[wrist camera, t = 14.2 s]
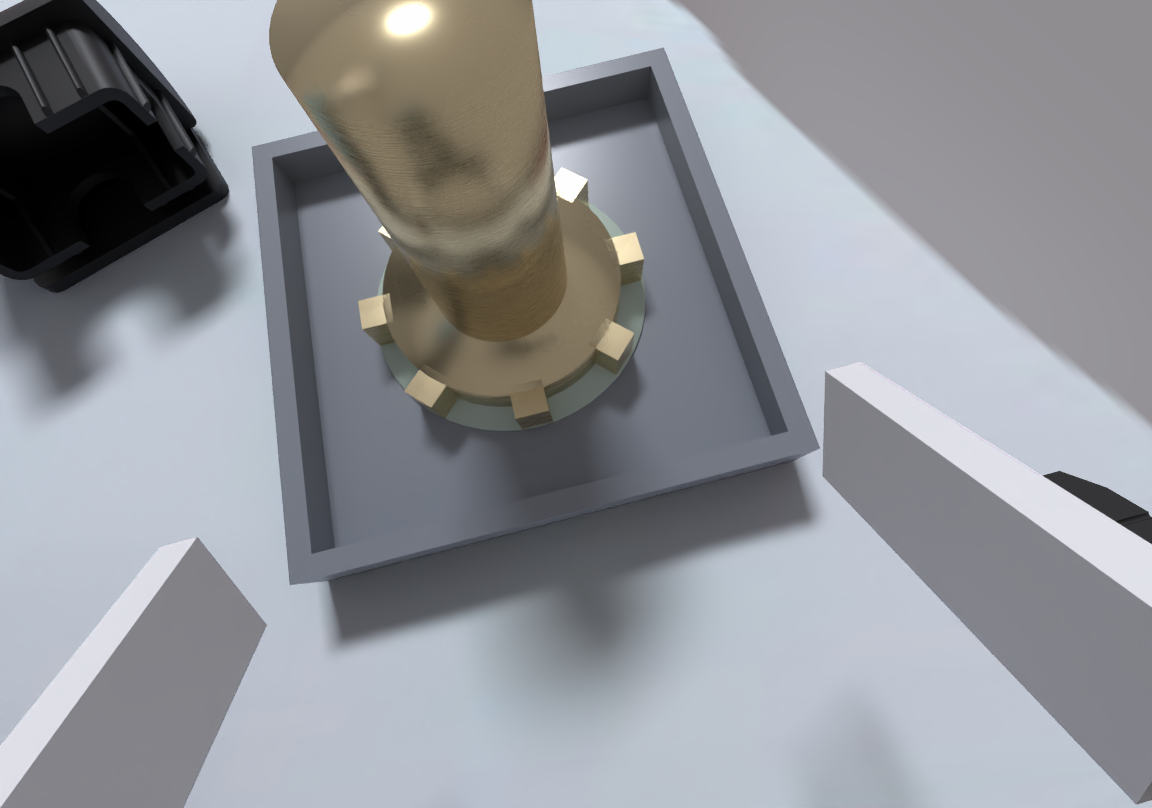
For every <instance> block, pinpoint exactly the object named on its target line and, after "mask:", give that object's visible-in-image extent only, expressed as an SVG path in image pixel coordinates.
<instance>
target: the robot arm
mask: <svg viewBox="0 0 1152 808" xmlns="http://www.w3.org/2000/svg"><path fill="white" fill-rule="evenodd" d="M823 477H824V478H825V479H826V480H827V481H828V482H829V483H830V484H831V485H832V486H833V487H834V488H835V489H836V491H837V492H838V493H839V494H840V495H841V496H842V497H843V498H844V499H845V500H846V501H847V502H848V503H849V504H850V505H851V506H852V507H853V508H854V509H855V510H856V511H857V513H858V514H859V515H860V516H861V517H862V518H863V519H864V520H865V521H866V522H867V523H868V524H869V525H870V526H871V527H872V528H873V529H874V530H875V531H876V532H877V533H878V535H879V536H880V537H881V538H882V539H883V540H884V541H885V542H886V543H887V544H888V545H889V546H890V547H891V548H892V549H893V550H894V551H895V552H896V553H897V554H898V555H899V557H900V558H901V559H902V560H903V561H904V562H905V563H906V564H907V565H908V566H909V567H910V568H911V569H912V570H913V571H914V572H915V573H916V574H917V575H918V576H919V577H920V579H921V580H922V581H923V582H924V583H925V584H926V585H927V586H928V587H929V588H930V589H931V590H932V591H933V592H934V593H935V594H936V595H937V596H938V597H939V598H940V599H941V601H942V602H943V603H944V604H945V605H946V606H947V607H948V608H949V609H950V610H951V611H952V612H953V613H954V614H955V615H956V616H957V617H958V618H959V619H960V620H961V621H962V623H963V624H964V625H965V626H966V627H967V628H968V629H969V630H970V631H971V632H972V633H973V634H974V635H975V636H976V637H977V638H978V639H979V640H980V641H981V642H982V643H983V645H984V646H985V647H986V648H987V649H988V650H989V651H990V652H991V653H992V654H993V655H994V656H995V657H996V658H997V659H998V660H999V661H1000V662H1001V663H1002V664H1003V665H1004V667H1005V668H1006V669H1007V670H1008V671H1009V672H1010V673H1011V674H1012V675H1013V676H1014V677H1015V678H1016V679H1017V680H1018V681H1019V682H1020V683H1021V684H1022V685H1023V686H1024V687H1025V688H1026V690H1027V691H1028V692H1029V693H1030V694H1031V695H1032V696H1033V697H1034V698H1035V699H1036V700H1037V701H1038V702H1039V703H1040V704H1041V705H1042V706H1043V707H1044V708H1045V709H1046V710H1047V712H1048V713H1049V714H1050V715H1051V716H1052V717H1053V718H1054V719H1055V720H1056V721H1057V722H1058V723H1059V724H1060V725H1061V726H1062V727H1063V728H1064V729H1065V730H1066V731H1067V732H1068V734H1069V735H1070V736H1071V737H1072V738H1073V739H1074V740H1075V741H1076V742H1077V743H1078V744H1079V745H1080V746H1081V747H1082V748H1083V749H1084V750H1085V751H1086V752H1087V753H1088V754H1089V756H1090V757H1091V758H1092V759H1093V760H1094V761H1095V762H1096V763H1097V764H1098V765H1099V766H1100V767H1101V768H1102V769H1103V770H1104V771H1105V772H1106V773H1107V774H1108V775H1109V776H1110V778H1111V779H1112V780H1113V781H1114V782H1115V783H1116V784H1117V785H1118V786H1119V787H1120V788H1121V789H1122V790H1123V791H1124V792H1125V793H1126V794H1127V795H1128V796H1129V797H1130V798H1131V800H1132V801H1133V802H1134V803H1135V804H1139V803H1143V802H1146V801H1150V800H1152V517H1151V516H1150V515H1149V512H1148V511H1146V510H1144V509H1142V508H1141V507H1139V506H1137V505H1136V504H1134V503H1132V502H1130V501H1129V500H1127V499H1125V498H1124V497H1122V496H1120V495H1118V494H1117V493H1115V492H1113V491H1112V490H1110V489H1108V488H1106V487H1103V486H1100V485H1098V484H1095V483H1092V482H1089V481H1086V480H1084V479H1081V478H1078V477H1075V476H1072V475H1069V474H1067V473H1064V472H1061V471H1058V472H1054V473H1050V474H1047V475H1043V476H1042V475H1040V474H1039V473H1037V472H1036V471H1034V470H1032V469H1031V468H1029V467H1028V466H1026V465H1025V464H1023V463H1021V462H1020V461H1018V460H1017V459H1015V458H1013V457H1012V456H1010V455H1009V454H1007V453H1005V452H1004V451H1002V450H1001V449H999V448H997V447H996V446H994V445H993V444H991V443H989V442H988V441H986V440H985V439H983V438H982V437H980V436H978V435H977V434H975V433H974V432H972V431H970V430H969V429H967V428H966V427H964V426H962V425H961V424H959V423H958V422H956V421H954V420H953V419H951V418H950V417H948V416H946V415H945V414H943V413H942V412H940V411H939V410H937V409H935V408H934V407H932V406H931V405H929V404H927V403H926V402H924V401H923V400H921V399H919V398H918V397H916V396H915V395H913V394H911V393H910V392H908V391H907V390H905V389H903V388H902V387H900V386H899V385H897V384H896V383H894V382H892V381H891V380H889V379H888V378H886V377H884V376H883V375H881V374H880V373H878V372H876V371H875V370H873V369H872V368H870V367H868V366H867V365H865V364H864V363H862V362H858V363H855V364H851V365H847V366H843V367H839V368H836V369H832V370H828V371H825V403H824V442H823ZM266 626H267V625H266V623H265V622H264V621H263V620H262V618H261V617H260V616H259V614H258V613H257V612H256V611H255V609H254V608H253V607H252V606H251V604H250V603H249V602H248V600H247V599H246V598H245V597H244V595H243V594H242V593H241V592H240V590H239V589H238V588H237V586H236V585H235V584H234V583H233V581H232V580H231V579H230V578H229V576H228V575H227V574H226V572H225V571H224V570H223V569H222V567H221V566H220V565H219V564H218V562H217V561H216V560H215V558H214V557H213V556H212V555H211V553H210V552H209V551H208V550H207V548H206V547H205V546H204V545H203V543H202V542H201V541H200V539H199V538H198V537H195V538H191V539H187V540H184V541H180V542H176V543H172V544H168V545H165V546H161V547H159V548H158V550H157V551H156V552H155V553H154V555H153V556H152V557H151V558H150V560H149V561H148V562H147V563H146V565H145V566H144V567H143V568H142V570H141V571H140V572H139V573H138V575H137V576H136V577H135V578H134V580H133V581H132V582H131V583H130V585H129V586H128V587H127V588H126V590H125V591H124V592H123V593H122V595H121V596H120V597H119V598H118V600H117V601H116V602H115V603H114V605H113V606H112V607H111V608H110V610H109V611H108V612H107V613H106V615H105V616H104V617H103V618H102V620H101V621H100V622H99V623H98V624H97V626H96V627H95V628H94V629H93V631H92V632H91V633H90V634H89V636H88V637H87V638H86V639H85V641H84V642H83V643H82V644H81V646H80V647H79V648H78V649H77V651H76V652H75V653H74V654H73V656H72V657H71V658H70V659H69V661H68V662H67V663H66V664H65V666H64V667H63V668H62V669H61V671H60V672H59V673H58V674H57V676H56V677H55V678H54V679H53V681H52V682H51V683H50V684H49V686H48V687H47V688H46V689H45V691H44V692H43V693H42V694H41V696H40V697H39V698H38V699H37V701H36V702H35V703H34V704H33V706H32V707H31V708H30V709H29V711H28V712H27V713H26V714H25V716H24V717H23V718H22V719H21V721H20V722H19V723H18V724H17V726H16V727H15V728H14V729H13V731H12V732H11V733H10V734H9V736H8V737H7V738H6V739H5V741H4V742H3V743H2V744H1V746H0V808H183V807H184V805H185V803H186V801H187V798H188V796H189V794H190V792H191V790H192V788H193V785H194V783H195V781H196V779H197V777H198V774H199V772H200V770H201V768H202V766H203V764H204V761H205V759H206V757H207V755H208V753H209V750H210V748H211V746H212V744H213V742H214V739H215V737H216V735H217V733H218V731H219V729H220V726H221V724H222V722H223V720H224V718H225V715H226V713H227V711H228V709H229V707H230V705H231V702H232V700H233V698H234V696H235V694H236V691H237V689H238V687H239V685H240V683H241V680H242V678H243V676H244V674H245V672H246V670H247V667H248V665H249V663H250V661H251V659H252V656H253V654H254V652H255V650H256V648H257V646H258V643H259V641H260V639H261V637H262V635H263V632H264V630H265V628H266Z"/></svg>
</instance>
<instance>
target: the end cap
mask: <svg viewBox="0 0 1152 808" xmlns="http://www.w3.org/2000/svg"><path fill="white" fill-rule="evenodd" d="M195 125H196V119H195V118H194V116H193V115H192V113H191V112H190V110H189V109H188V107H187V106H186V104H185V103H184V102H183V100H182V99H181V98H180V96H179V95H178V94H177V92H176V91H175V89H174V88H173V87H172V86H171V84H170V83H169V82H168V80H167V79H166V78H165V77H164V75H163V74H162V73H161V72H160V70H159V69H158V68H157V67H156V66H155V64H154V63H153V62H152V61H151V60H150V58H149V57H148V56H147V55H146V54H145V52H144V51H143V50H142V49H141V48H140V47H139V45H138V44H137V43H136V42H135V41H134V40H133V39H132V37H131V36H130V35H129V34H128V33H127V32H126V31H125V30H124V29H123V28H122V26H121V25H120V24H119V23H118V22H117V21H116V20H115V19H114V18H113V17H112V16H111V15H110V14H109V13H108V12H107V11H106V10H105V9H104V8H103V7H102V6H101V5H100V4H99V3H98V2H97V1H96V0H24V1H22V2H20V3H18V4H16V5H14V6H12V7H10V8H8V9H6V10H4V11H2V12H0V274H2V275H4V276H6V277H9V278H12V279H18V280H27V279H32V278H34V280H35V282H36V283H37V284H38V285H39V286H40V287H42V288H44V289H47V290H49V291H51V292H57V293H58V292H61V291H64V290H66V289H68V288H69V287H71V286H73V285H75V284H76V283H78V282H80V281H82V280H83V279H85V278H87V277H88V276H90V275H92V274H94V273H95V272H97V271H99V270H101V269H102V268H104V267H106V266H108V265H109V264H111V263H113V262H114V261H116V260H118V259H120V258H121V257H123V256H125V255H127V254H128V253H130V252H132V251H134V250H135V249H137V248H139V247H140V246H142V245H144V244H146V243H147V242H149V241H151V240H153V239H154V238H156V237H158V236H160V235H161V234H163V233H165V232H167V231H168V230H170V229H172V228H173V227H175V226H177V225H179V224H180V223H182V222H184V221H186V220H187V219H189V218H191V217H193V216H194V215H196V214H198V213H199V212H201V211H203V210H205V209H206V208H208V207H210V206H212V205H213V204H215V203H217V202H219V201H220V200H222V199H223V198H224V197H225V196H226V195H227V193H228V190H229V189H228V185H227V183H226V181H225V180H224V178H223V176H222V175H221V173H220V171H219V170H218V168H217V166H216V165H215V163H214V161H213V160H212V158H211V156H210V155H209V153H208V151H207V150H206V148H205V146H204V145H203V143H202V141H201V140H200V138H199V137H198V135H197V134H196V132H195V131H194V130H193V128H192V127H194V126H195Z"/></svg>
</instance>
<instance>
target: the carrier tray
mask: <svg viewBox="0 0 1152 808" xmlns="http://www.w3.org/2000/svg"><path fill="white" fill-rule="evenodd" d="M542 82H543V90H544V98H545V106H546V114H547V121H548V129H549V137H550V145H551V153H552V160H553V168H554V176H555V177H556V175H557V174H558V172H559V171H560V169H561V168H563V169H566V170H568V171H570V172H572V173H574V174H576V175H578V176H580V177H583V178H585V179H587V180H588V201H589V206H588V208H589V209H590V210H591V211H592V212H593V213H594V214H595V215H596V216H597V217H598V218H599V219H600V221H601V222H602V223H603V225H604V226H605V228H606V229H607V231H608V233H609V235H610V236H611V238H614V237H618V236H622V235H626V234H630V233H634V232H636V235H637V238H638V241H639V245H640V248H641V251H642V254H643V257H644V264H643V271H642V278H641V281H637V282H633V283H629V284H625V285H621V287H620V301H619V314H618V318H617V323H616V324H618V325H620V326H622V327H624V328H626V329H628V330H630V331H631V332H633V333H635V334H634V341H633V347H632V351H631V352H630V354H629V356H628V357H627V359H626V361H625V362H624V364H623V366H622V367H621V369H620V371H619V372H618V374H617V375H616V374H614V373H612V372H610V371H608V370H607V369H605V368H603V367H601V366H599V365H597V364H595V365H594V366H593V367H592V368H591V369H590V370H589V371H588V372H587V373H586V374H585V375H584V376H583V377H582V378H581V379H579V380H578V381H577V382H576V383H575V384H573V385H571V386H570V387H568V388H567V389H565V390H564V391H562V392H560V393H558V394H556V395H554V396H551V397H549V398H548V402H549V406H550V410H551V414H552V418H553V422H549V423H545V424H541V425H538V426H534V427H530V428H526V429H522V428H521V427H520V425H519V424H518V422H517V421H516V419H515V415H514V411H513V406H510V407H495V406H485V405H480V404H475V403H471V402H468V401H465V400H462V399H459V398H458V400H457V401H456V403H455V404H454V406H453V407H452V409H451V410H450V412H449V413H448V415H447V416H446V418H445V419H444V418H443V417H441V416H439V415H438V414H436V413H434V412H433V411H431V410H429V409H428V408H426V407H424V406H423V405H421V404H419V403H418V402H417V401H416V400H414V399H413V398H412V397H411V396H409V395H408V394H407V393H406V392H404V391H405V389H406V388H407V386H408V385H409V384H410V382H411V381H412V379H413V378H414V377H415V375H416V374H417V372H418V371H419V370H418V369H417V368H416V367H415V366H414V365H413V364H412V363H411V362H410V361H409V360H408V359H407V357H406V356H405V355H404V354H403V352H402V351H401V350H400V349H399V347H398V345H397V344H396V342H393V343H389V344H385V345H381V346H380V345H379V344H378V343H377V342H375V341H374V340H373V339H372V338H371V337H370V336H369V335H368V334H367V333H366V332H364V331H363V330H362V325H361V318H360V311H359V304H358V301H360V300H364V299H368V298H372V297H376V296H380V295H382V294H383V280H384V275H385V270H386V266H387V263H388V260H389V257H390V255H391V252H392V250H391V249H390V248H389V246H388V245H387V243H386V242H385V241H384V239H383V238H382V236H381V235H380V233H379V232H378V231H379V229H380V228H381V227H382V226H383V225H382V224H381V222H380V221H379V220H378V218H377V217H376V215H375V214H374V212H373V211H372V209H371V208H370V206H369V205H368V203H367V202H366V200H365V199H364V197H363V196H362V195H361V193H360V192H359V190H358V189H357V187H356V186H355V184H354V183H353V181H352V180H351V178H350V177H349V175H348V174H347V172H346V171H345V170H344V168H343V167H342V165H341V164H340V162H339V161H338V159H337V158H336V156H335V155H334V153H333V152H332V150H331V149H330V147H329V146H328V145H327V143H326V142H325V140H324V139H323V137H322V136H321V134H320V133H319V131H316V132H312V133H307V134H303V135H299V136H295V137H291V138H287V139H282V140H278V141H274V142H270V143H266V144H262V145H258V146H253V147H252V155H253V166H254V178H255V189H256V201H257V212H258V224H259V235H260V247H261V258H262V270H263V281H264V293H265V304H266V316H267V327H268V339H269V350H270V362H271V373H272V385H273V396H274V408H275V419H276V431H277V443H278V454H279V466H280V477H281V489H282V500H283V512H284V523H285V535H286V546H287V558H288V569H289V581H290V585H295V584H303V583H312V582H321V581H328V580H332V579H336V578H340V577H344V576H348V575H352V574H356V573H359V572H363V571H367V570H371V569H375V568H379V567H383V566H386V565H390V564H394V563H398V562H402V561H406V560H410V559H414V558H417V557H421V556H425V555H429V554H433V553H437V552H441V551H445V550H448V549H452V548H456V547H460V546H464V545H468V544H472V543H475V542H479V541H483V540H487V539H491V538H495V537H499V536H503V535H506V534H510V533H514V532H518V531H522V530H526V529H530V528H534V527H537V526H541V525H545V524H549V523H553V522H557V521H561V520H564V519H568V518H572V517H576V516H580V515H584V514H588V513H592V512H595V511H599V510H603V509H607V508H611V507H615V506H619V505H623V504H626V503H630V502H634V501H638V500H642V499H646V498H650V497H653V496H657V495H661V494H665V493H669V492H673V491H677V490H681V489H684V488H688V487H692V486H696V485H700V484H704V483H708V482H712V481H715V480H719V479H723V478H727V477H731V476H735V475H739V474H742V473H746V472H750V471H754V470H758V469H762V468H766V467H770V466H773V465H777V464H781V463H785V462H789V461H793V460H796V459H798V458H800V457H802V456H804V455H806V454H808V453H811V452H813V451H815V450H817V449H819V448H820V447H819V444H818V442H817V439H816V437H815V434H814V432H813V429H812V427H811V424H810V421H809V419H808V416H807V414H806V411H805V409H804V406H803V403H802V401H801V398H800V396H799V393H798V391H797V388H796V385H795V383H794V380H793V378H792V375H791V373H790V370H789V368H788V365H787V362H786V360H785V357H784V355H783V352H782V350H781V347H780V344H779V342H778V339H777V337H776V334H775V332H774V329H773V327H772V324H771V321H770V319H769V316H768V314H767V311H766V309H765V306H764V303H763V301H762V298H761V296H760V293H759V291H758V288H757V285H756V283H755V280H754V278H753V275H752V273H751V270H750V268H749V265H748V262H747V260H746V257H745V255H744V252H743V250H742V247H741V244H740V242H739V239H738V237H737V234H736V232H735V229H734V227H733V224H732V221H731V219H730V216H729V214H728V211H727V209H726V206H725V203H724V201H723V198H722V196H721V193H720V191H719V188H718V185H717V183H716V180H715V178H714V175H713V173H712V170H711V168H710V165H709V162H708V160H707V157H706V155H705V152H704V150H703V147H702V144H701V142H700V139H699V137H698V134H697V132H696V129H695V127H694V124H693V121H692V119H691V116H690V114H689V111H688V109H687V106H686V103H685V101H684V98H683V96H682V93H681V91H680V88H679V86H678V83H677V80H676V78H675V75H674V73H673V70H672V68H671V65H670V62H669V60H668V57H667V55H666V52H665V50H664V48H660V49H656V50H652V51H648V52H644V53H640V54H635V55H631V56H627V57H623V58H619V59H615V60H611V61H606V62H602V63H598V64H594V65H590V66H586V67H581V68H577V69H573V70H569V71H565V72H561V73H557V74H552V75H548V76H544V77H542Z"/></svg>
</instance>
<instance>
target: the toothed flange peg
mask: <svg viewBox="0 0 1152 808" xmlns="http://www.w3.org/2000/svg"><path fill="white" fill-rule="evenodd" d="M269 44H270V49H271V54H272V58H273V60H274V63H275V66H276V68H277V70H278V72H279V73H280V75H281V76H282V78H283V80H284V81H285V83H286V84H287V86H288V87H289V89H290V90H291V92H292V93H293V94H294V96H295V97H296V99H297V100H298V102H299V103H300V105H301V106H302V108H303V109H304V111H305V112H306V114H307V115H308V117H309V118H310V120H311V121H312V122H313V124H314V125H315V127H316V128H317V130H318V131H319V133H320V134H321V136H322V137H323V139H324V140H325V142H326V143H327V145H328V146H329V147H330V149H331V150H332V152H333V153H334V155H335V156H336V158H337V159H338V161H339V162H340V164H341V165H342V167H343V168H344V170H345V171H346V172H347V174H348V175H349V177H350V178H351V180H352V181H353V183H354V184H355V186H356V187H357V189H358V190H359V192H360V193H361V195H362V196H363V197H364V199H365V200H366V202H367V203H368V205H369V206H370V208H371V209H372V211H373V212H374V214H375V215H376V217H377V218H378V220H379V221H380V222H381V224H382V225H383V226H382V227H381V228H380V229H379V231H378V232H379V233H380V235H381V236H382V238H383V239H384V241H385V242H386V243H387V245H388V246H389V248H390V249H391V250H392V252H391V255H390V257H389V260H388V263H387V266H386V270H385V275H384V280H383V294H382V295H380V296H376V297H372V298H368V299H364V300H360V301H358V304H359V311H360V318H361V325H362V330H363V331H364V332H366V333H367V334H368V335H369V336H370V337H371V338H372V339H373V340H374V341H375V342H377V343H378V344H379V345H380V346H381V345H385V344H389V343H393V342H396V344H397V345H398V347H399V349H400V350H401V351H402V352H403V354H404V355H405V356H406V357H407V359H408V360H409V361H410V362H411V363H412V364H413V365H414V366H415V367H416V368H417V369H418V370H419V371H418V372H417V374H416V375H415V377H414V378H413V379H412V381H411V382H410V384H409V385H408V386H407V388H406V389H405V391H404V392H406V393H407V394H408V395H409V396H411V397H412V398H413V399H414V400H416V401H417V402H418V403H419V404H421V405H423V406H424V407H426V408H428V409H429V410H431V411H433V412H434V413H436V414H438V415H439V416H441V417H443V418H444V419H445V418H446V416H447V415H448V413H449V412H450V410H451V409H452V407H453V406H454V404H455V403H456V401H457V400H458V398H459V399H462V400H465V401H468V402H471V403H475V404H480V405H485V406H495V407H510V406H513V411H514V415H515V419H516V421H517V422H518V424H519V425H520V427H521V428H522V429H526V428H530V427H534V426H538V425H541V424H545V423H549V422H553V418H552V414H551V410H550V406H549V402H548V398H549V397H551V396H554V395H556V394H558V393H560V392H562V391H564V390H565V389H567V388H568V387H570V386H571V385H573V384H575V383H576V382H577V381H578V380H579V379H581V378H582V377H583V376H584V375H585V374H586V373H587V372H588V371H589V370H590V369H591V368H592V367H593V366H594V365H595V364H597V365H599V366H601V367H603V368H605V369H607V370H608V371H610V372H612V373H614V374H616V375H617V374H618V372H619V371H620V369H621V367H622V366H623V364H624V362H625V361H626V359H627V357H628V356H629V354H630V352H631V351H632V347H633V341H634V334H635V333H633V332H631V331H630V330H628V329H626V328H624V327H622V326H620V325H618V324H616V323H617V318H618V314H619V301H620V287H621V285H625V284H629V283H633V282H637V281H641V278H642V271H643V264H644V257H643V254H642V251H641V248H640V245H639V241H638V238H637V235H636V232H634V233H630V234H626V235H622V236H618V237H614V238H611V236H610V235H609V233H608V231H607V229H606V228H605V226H604V225H603V223H602V222H601V221H600V219H599V218H598V217H597V216H596V215H595V214H594V213H593V212H592V211H591V210H590V209H589V208H588V206H589V201H588V180H587V179H585V178H583V177H580V176H578V175H576V174H574V173H572V172H570V171H568V170H566V169H563V168H561V169H560V171H559V172H558V174H557V175H556V177H555V176H554V168H553V160H552V153H551V145H550V137H549V129H548V121H547V114H546V106H545V98H544V90H543V82H542V75H541V67H540V59H539V51H538V44H537V36H536V28H535V20H534V12H533V5H532V0H277V3H276V5H275V8H274V11H273V14H272V17H271V23H270V29H269Z"/></svg>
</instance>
